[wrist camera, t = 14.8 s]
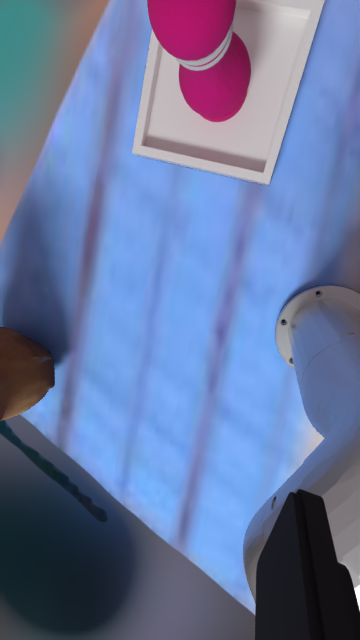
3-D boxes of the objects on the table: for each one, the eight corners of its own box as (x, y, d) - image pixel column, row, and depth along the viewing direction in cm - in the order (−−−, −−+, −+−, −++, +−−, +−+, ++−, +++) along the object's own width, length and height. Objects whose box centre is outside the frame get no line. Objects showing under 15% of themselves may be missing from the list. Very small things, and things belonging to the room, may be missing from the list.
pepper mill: (201, 44, 36) (137, -146, 17) (263, 64, 35) (264, -113, 16) (180, 116, 38) (103, 17, 20) (236, 136, 38) (212, 53, 19)
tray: (321, 12, 33) (325, -1, 31) (268, 186, 39) (269, 184, 37) (166, -10, 36) (160, -24, 34) (138, 156, 42) (132, 152, 39)
